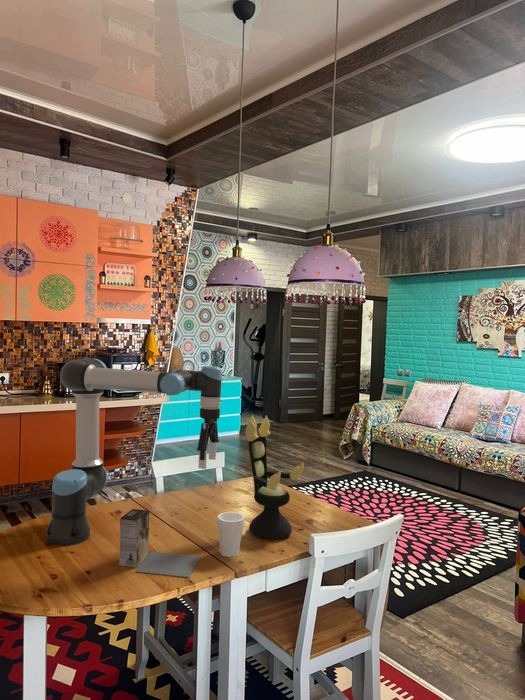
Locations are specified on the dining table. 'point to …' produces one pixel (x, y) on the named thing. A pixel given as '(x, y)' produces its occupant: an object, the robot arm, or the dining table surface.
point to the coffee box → (134, 537)
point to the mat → (169, 564)
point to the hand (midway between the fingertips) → (207, 463)
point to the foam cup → (230, 532)
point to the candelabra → (268, 486)
